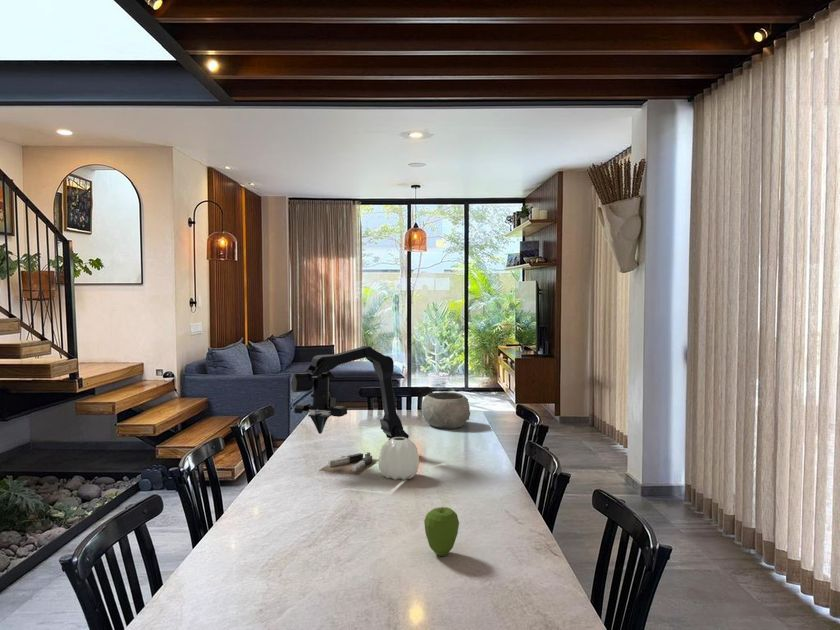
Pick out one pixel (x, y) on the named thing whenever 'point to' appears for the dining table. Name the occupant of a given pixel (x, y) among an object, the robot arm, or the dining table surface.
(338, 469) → the board
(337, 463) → the bar
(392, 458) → the vase
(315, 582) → the dining table surface
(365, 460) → the tongs fixed
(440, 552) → the apple
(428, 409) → the bowl
